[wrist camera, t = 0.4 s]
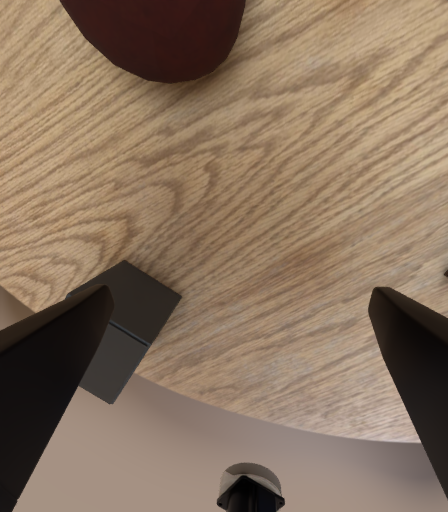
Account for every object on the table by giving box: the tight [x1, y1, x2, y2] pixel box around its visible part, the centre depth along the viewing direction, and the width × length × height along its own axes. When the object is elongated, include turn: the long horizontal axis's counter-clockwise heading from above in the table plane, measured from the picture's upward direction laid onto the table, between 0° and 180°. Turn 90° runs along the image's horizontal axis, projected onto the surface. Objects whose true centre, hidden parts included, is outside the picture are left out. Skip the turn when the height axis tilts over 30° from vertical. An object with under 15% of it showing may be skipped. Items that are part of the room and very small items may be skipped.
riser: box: [65, 260, 182, 404], centre depth 23 cm, size 7×7×8 cm
